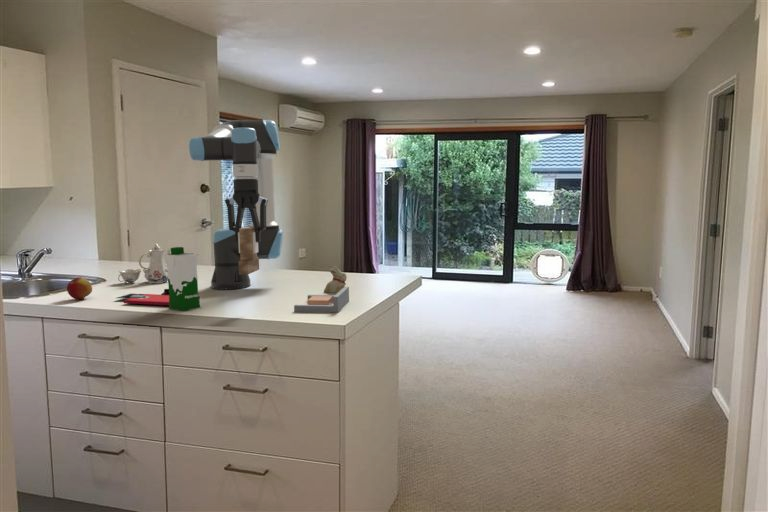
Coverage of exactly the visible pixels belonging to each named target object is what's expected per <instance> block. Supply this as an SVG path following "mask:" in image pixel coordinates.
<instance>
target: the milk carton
mask: <svg viewBox="0 0 768 512" xmlns="http://www.w3.org/2000/svg"><path fill="white" fill-rule="evenodd" d="M170 249H171V251H170V254H168V255H167V254H164V260H165V263H166V265H167V269H168V282H167V284H168V289H169V305H168V308H169V309H170V310H174V311H180V312H185V311H189V310H190V311H191V310H192V309H197V308H201V303H200V299H199V286H198V284H199V283H198V261H199V254H198V253H194V252H185V250H184V249H185V248H184V247H182V246H175V247H171V248H170Z"/></svg>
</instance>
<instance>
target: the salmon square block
mask: <svg viewBox="0 0 768 512" xmlns="http://www.w3.org/2000/svg"><path fill="white" fill-rule="evenodd" d="M306 302H307V304H306V305H333V296H312V297H311V298H309V299H308V298H307V300H306Z"/></svg>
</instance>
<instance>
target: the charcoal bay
mask: <svg viewBox="0 0 768 512" xmlns="http://www.w3.org/2000/svg"><path fill="white" fill-rule="evenodd" d="M312 296H333V304H332V305H308V304H294V305H293V311H294V312H295V313H331V312H338V313H340V312H341V310H342V309H343V308H344V307H345V306H346V305H347V304H348V303H349V302H350V286H345V287H344V288H342V289H341V290H340V291H339V292H338V293H335V294H307V300H308V299H309V298H311V297H312Z"/></svg>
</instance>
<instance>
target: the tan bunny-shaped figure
mask: <svg viewBox="0 0 768 512" xmlns="http://www.w3.org/2000/svg"><path fill="white" fill-rule="evenodd" d="M329 273H330V274H331V275H332V280H330V281H328V282H327V283H326V285H325V287H324V289H323V292H324V293H326V294H327V293H328V294H331V293H332V294H333V293H334V294H337V293H338V292H339V291H340V290H341V289H342V288H344V287H346V285H347V283H346V281H347V278H348V277H347V274H346V273H345V272H342V271H341V269H339V268H338V267H337V266H336V265H333V267H332V268H330V269H329Z"/></svg>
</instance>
